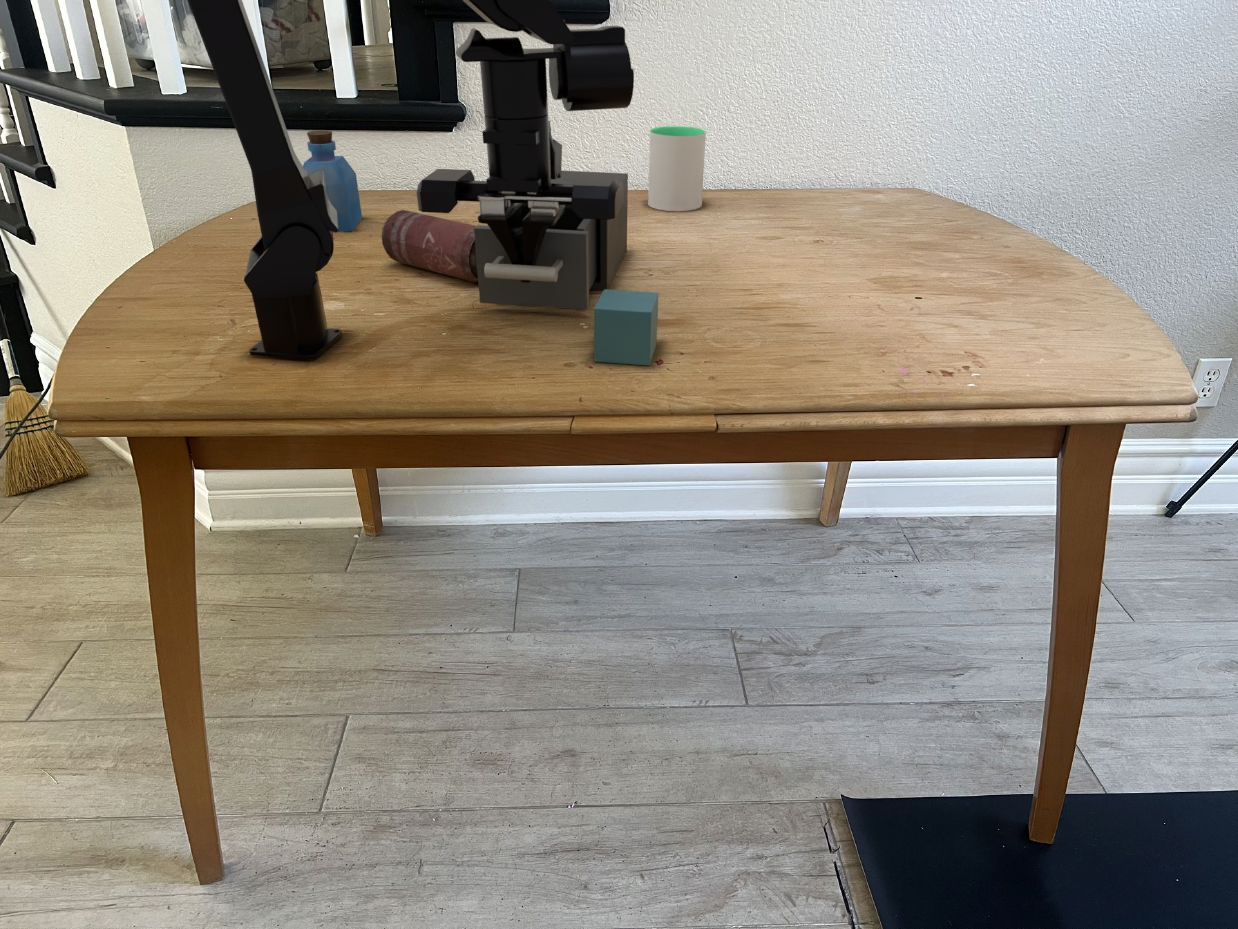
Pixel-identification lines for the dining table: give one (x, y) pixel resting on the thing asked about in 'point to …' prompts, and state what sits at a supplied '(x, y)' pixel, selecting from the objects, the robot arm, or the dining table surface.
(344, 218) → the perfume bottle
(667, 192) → the mug
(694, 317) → the dining table surface
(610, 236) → the cabinet
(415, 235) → the can
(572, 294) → the drawer
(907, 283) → the dining table surface
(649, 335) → the block
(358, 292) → the dining table surface
